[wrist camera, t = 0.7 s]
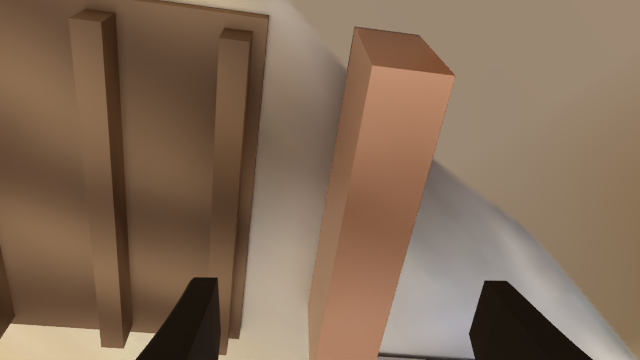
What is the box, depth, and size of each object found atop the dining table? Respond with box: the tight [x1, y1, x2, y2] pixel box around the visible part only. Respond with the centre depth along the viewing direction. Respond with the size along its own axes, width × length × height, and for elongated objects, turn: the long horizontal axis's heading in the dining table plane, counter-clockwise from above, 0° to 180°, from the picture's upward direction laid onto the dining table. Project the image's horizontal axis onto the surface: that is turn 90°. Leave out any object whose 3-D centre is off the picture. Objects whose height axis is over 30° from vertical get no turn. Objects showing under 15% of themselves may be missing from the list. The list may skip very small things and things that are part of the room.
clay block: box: [308, 26, 455, 360], centre depth 20 cm, size 14×2×5 cm, turn 172°
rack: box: [0, 0, 269, 355], centre depth 20 cm, size 16×17×2 cm
